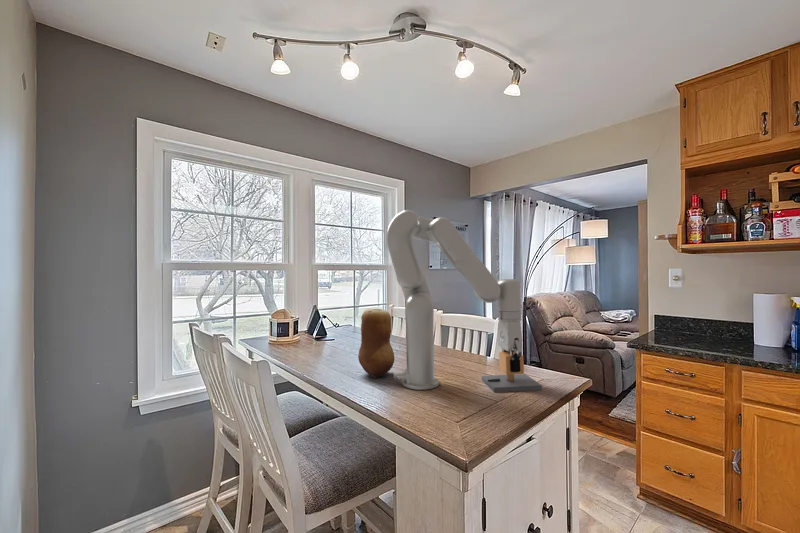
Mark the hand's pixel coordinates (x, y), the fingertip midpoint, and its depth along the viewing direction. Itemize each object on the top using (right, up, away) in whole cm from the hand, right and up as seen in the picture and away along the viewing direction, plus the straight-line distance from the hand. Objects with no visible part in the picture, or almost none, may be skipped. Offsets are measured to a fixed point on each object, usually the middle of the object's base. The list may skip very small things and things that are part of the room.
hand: (511, 368), depth 119 cm
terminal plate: (0, -6, 0) cm, 6 cm away
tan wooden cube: (0, -1, 0) cm, 1 cm away
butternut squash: (-47, -7, +13) cm, 49 cm away
